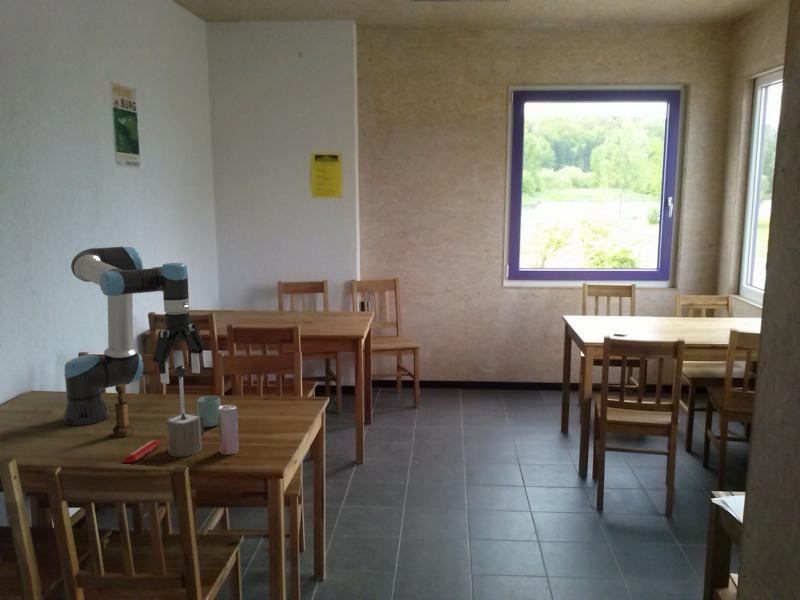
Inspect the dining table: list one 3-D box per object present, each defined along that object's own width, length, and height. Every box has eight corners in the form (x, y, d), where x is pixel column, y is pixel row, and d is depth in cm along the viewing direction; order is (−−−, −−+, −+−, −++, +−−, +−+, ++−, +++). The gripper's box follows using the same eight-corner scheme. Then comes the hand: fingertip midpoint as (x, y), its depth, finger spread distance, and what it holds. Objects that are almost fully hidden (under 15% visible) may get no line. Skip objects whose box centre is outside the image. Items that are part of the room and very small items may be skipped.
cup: (214, 430, 225) (213, 402, 224) (194, 428, 227) (193, 401, 225) (224, 422, 233) (223, 396, 231) (205, 421, 234) (204, 395, 233)
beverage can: (221, 448, 208) (219, 404, 206) (240, 448, 208) (238, 403, 206) (218, 455, 202) (215, 410, 200) (237, 455, 202) (235, 409, 200)
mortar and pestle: (137, 431, 224) (134, 382, 221) (124, 438, 218) (120, 387, 215) (122, 429, 226) (119, 380, 224) (109, 436, 220) (105, 385, 217)
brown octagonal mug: (162, 453, 204) (159, 421, 202) (191, 439, 216) (189, 409, 214) (185, 458, 200) (183, 425, 198) (214, 444, 212) (212, 413, 210)
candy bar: (151, 446, 211) (150, 437, 211) (161, 446, 210) (160, 438, 210) (122, 465, 196) (121, 456, 195) (133, 466, 195) (132, 457, 194)
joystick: (167, 425, 203) (164, 367, 201) (183, 419, 210) (179, 362, 207) (184, 428, 201) (180, 369, 198) (199, 422, 207) (195, 364, 204)
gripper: (155, 319, 187) (160, 389, 190) (213, 307, 209) (216, 369, 212) (137, 317, 190) (141, 386, 193) (195, 305, 213) (199, 367, 216)
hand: (180, 377), depth 203 cm, fingers open, 13 cm apart
